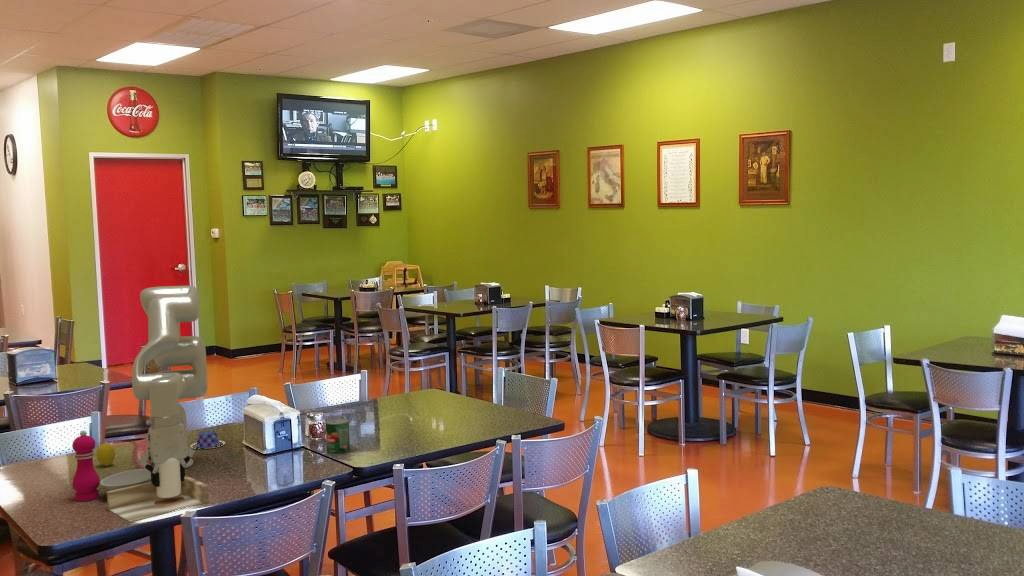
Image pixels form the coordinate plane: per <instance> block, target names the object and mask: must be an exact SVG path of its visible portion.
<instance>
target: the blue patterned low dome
mask: <svg viewBox="0 0 1024 576" xmlns="http://www.w3.org/2000/svg"><path fill="white" fill-rule="evenodd" d="M196 440H197V441H196V442H195V443H192V444H191V445H190V446H189V447H190V448H191V449H193V450H194V449H195V450H197V449H196V448H193V447H192V446H193V445H195V444H197V445H196V447H199V448H198V449H200V448H204V449H205V450H209V449H210V450H211V448H210V447H212V448H213V449H215V448H219V447H222V446H224V445H225V444H226V441H224V440H219V438H218V434H217V432H216V431H215V430H204V431H200V432H199V433H198V436H197V439H196ZM219 442H222V443H223V445H221V446H220V445H219V444H220V443H219ZM218 445H219V446H218ZM215 446H217V447H215Z"/></svg>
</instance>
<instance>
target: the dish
mask: <svg viewBox="0 0 1024 576" xmlns="http://www.w3.org/2000/svg"><path fill="white" fill-rule="evenodd" d="M148 482H151V472H150V471H149V470H147V469H146V468H138V469H131V470H125V471H120V472H117V473H113V474H111V475H108V476H106V477H104V478H102V479H100V485H99V486H103V487H105V488H106V490H108V491H112V490H117V489H121V488H126V487H130V486H135V485H139V484H144V483H148Z"/></svg>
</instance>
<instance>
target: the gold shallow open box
mask: <svg viewBox="0 0 1024 576" xmlns="http://www.w3.org/2000/svg"><path fill="white" fill-rule="evenodd" d="M209 493H210V492H209V485H208V484H206V483H203V482H201V481H200V480H197V479H195V478H193V477H190V476H188V475H186V474H185V477H184V481H181V493H180V495H179V496H176V497H173V498H159V497H158V496H157V488H156V486H154V485H153V484H152V483H151V482H148V483H144V484H139V485H135V486H130V487H126V488H121V489H117V490H112V491H110V490H108V491H106V501H107V510H108V511H110V512H112V513H113V514H115V515H117V516H119V517H120V518H121V519H123V520H125V521H127V522H129V523H134V522H138V521H143V520H145V519H150V518H154V517H157V516H158V517H159V516H161V515H166V514H169V512H170V513H173V512H172V511H174V512H176V511H175V510H178V509H182V508H186V507H190V506H194V507H196V506H195V505H197V506H201V505H205V504H209V503H210V499H209V497H210V496H209ZM208 502H209V503H208ZM204 503H205V504H204ZM200 504H201V505H200ZM190 508H191V507H190ZM186 509H187V508H186ZM182 510H183V509H182ZM178 511H179V510H178ZM165 513H166V514H165Z"/></svg>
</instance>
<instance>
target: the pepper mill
mask: <svg viewBox="0 0 1024 576" xmlns="http://www.w3.org/2000/svg"><path fill="white" fill-rule="evenodd" d="M87 434H88V432H87V431H86V430H81V431H80V432H79V436H78V437H76V438H74V440H73V441H72V449H73V451H74V452H75V454H74V456H75V457H74V459H75V460H76V470H75V474H74V476H73V479H72V485H71V486H72V489H73V490H74V491H75V493H74V500H75V501H77V502H88V501H93V500H96V499H98V498H99V496H100V490H99V489H98V488H99V486H101V485H100V481H101V479H100V475H99V473H98V472H97V470H96V468H95V465H94V461H93V459H94V457H95V454H94V453H95V451H94V449H95V448H96V439H94V437H93V436H91V435H87Z"/></svg>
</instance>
